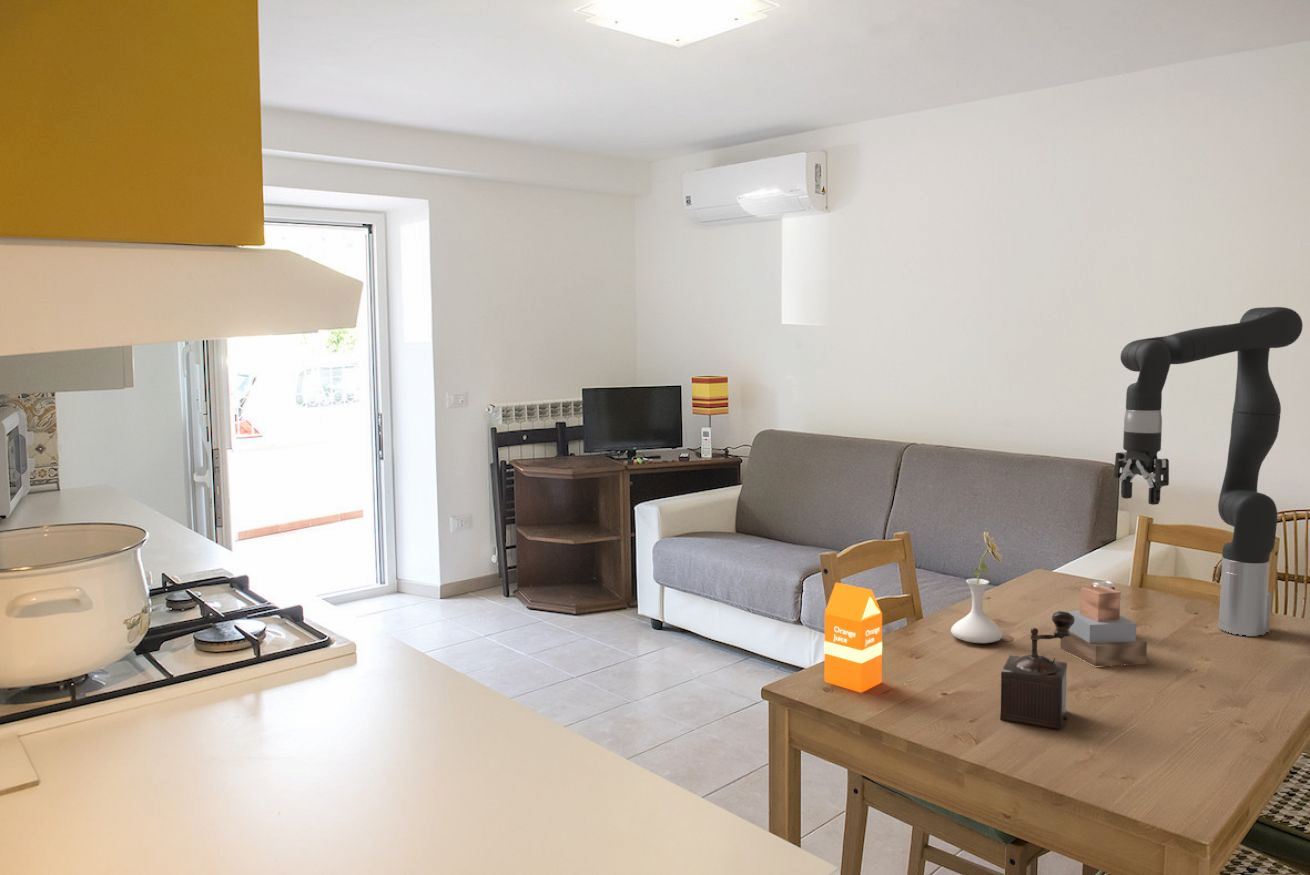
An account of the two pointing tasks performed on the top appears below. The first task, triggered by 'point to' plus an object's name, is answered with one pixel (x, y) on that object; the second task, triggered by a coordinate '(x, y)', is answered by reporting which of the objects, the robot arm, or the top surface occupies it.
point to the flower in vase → (979, 606)
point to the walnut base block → (1105, 651)
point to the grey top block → (1103, 629)
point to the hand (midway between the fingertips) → (1139, 501)
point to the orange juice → (853, 638)
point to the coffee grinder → (1036, 683)
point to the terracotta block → (1100, 603)
